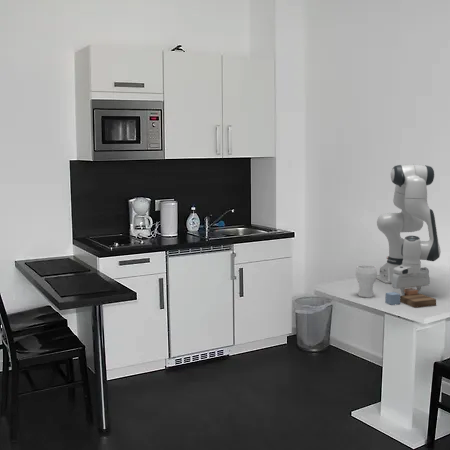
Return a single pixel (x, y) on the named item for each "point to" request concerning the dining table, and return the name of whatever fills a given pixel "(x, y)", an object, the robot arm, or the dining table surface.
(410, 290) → the terracotta block
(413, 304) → the pedestal
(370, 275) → the cup
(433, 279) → the dining table surface
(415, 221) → the robot arm
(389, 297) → the blue block
